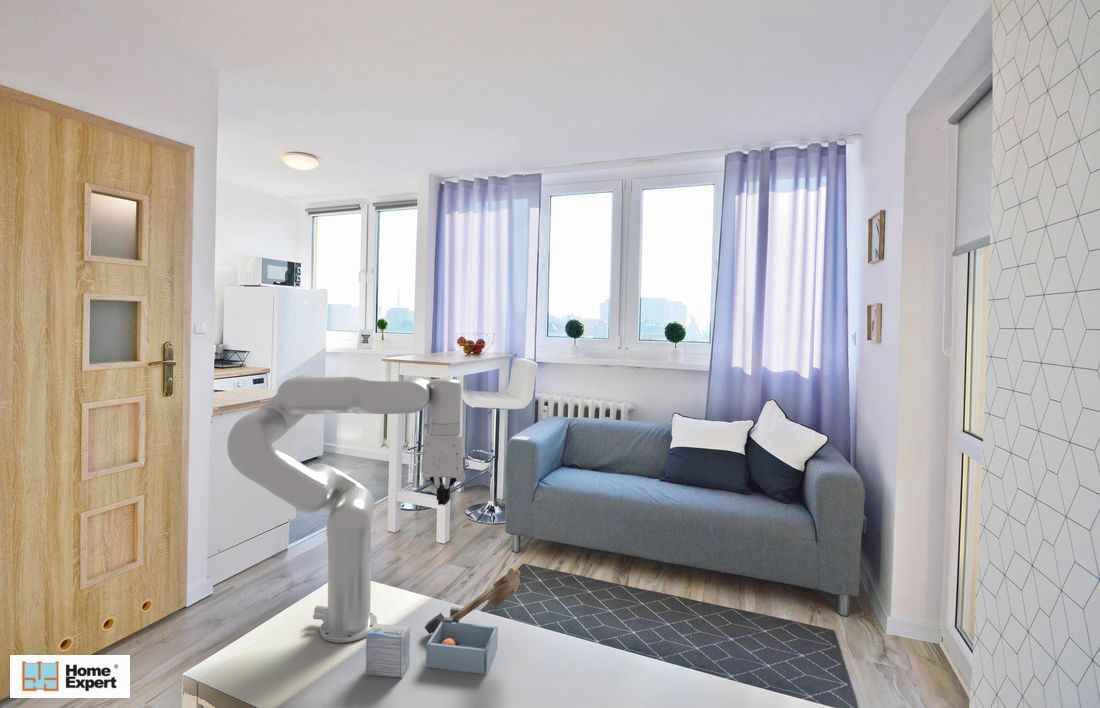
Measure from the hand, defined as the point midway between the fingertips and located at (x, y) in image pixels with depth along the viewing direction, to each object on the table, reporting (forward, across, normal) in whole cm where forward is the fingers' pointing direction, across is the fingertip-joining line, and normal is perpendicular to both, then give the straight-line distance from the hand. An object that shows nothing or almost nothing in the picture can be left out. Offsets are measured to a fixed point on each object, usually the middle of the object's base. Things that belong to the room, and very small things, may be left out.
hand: (443, 503), depth 129 cm
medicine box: (+29, -4, -21) cm, 36 cm away
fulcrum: (+29, +5, -7) cm, 30 cm away
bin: (+29, +10, -14) cm, 34 cm away
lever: (+21, +11, -12) cm, 26 cm away
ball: (+26, +8, -14) cm, 30 cm away
